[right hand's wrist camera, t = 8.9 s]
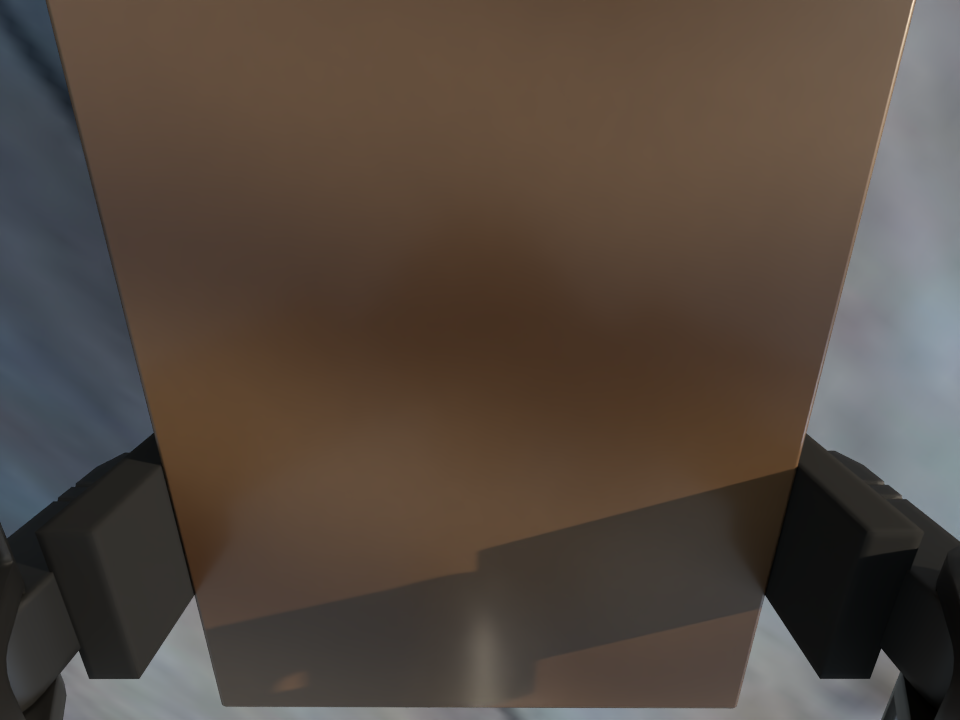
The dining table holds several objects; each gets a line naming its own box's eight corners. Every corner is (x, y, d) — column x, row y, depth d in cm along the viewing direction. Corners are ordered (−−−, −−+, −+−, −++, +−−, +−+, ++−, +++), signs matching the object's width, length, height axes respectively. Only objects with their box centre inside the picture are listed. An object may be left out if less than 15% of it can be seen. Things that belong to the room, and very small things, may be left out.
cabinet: (296, -102, 14) (-141, -720, 4) (666, -102, 14) (1105, -723, 4) (349, 437, 20) (220, 708, 10) (610, 438, 20) (737, 710, 10)
